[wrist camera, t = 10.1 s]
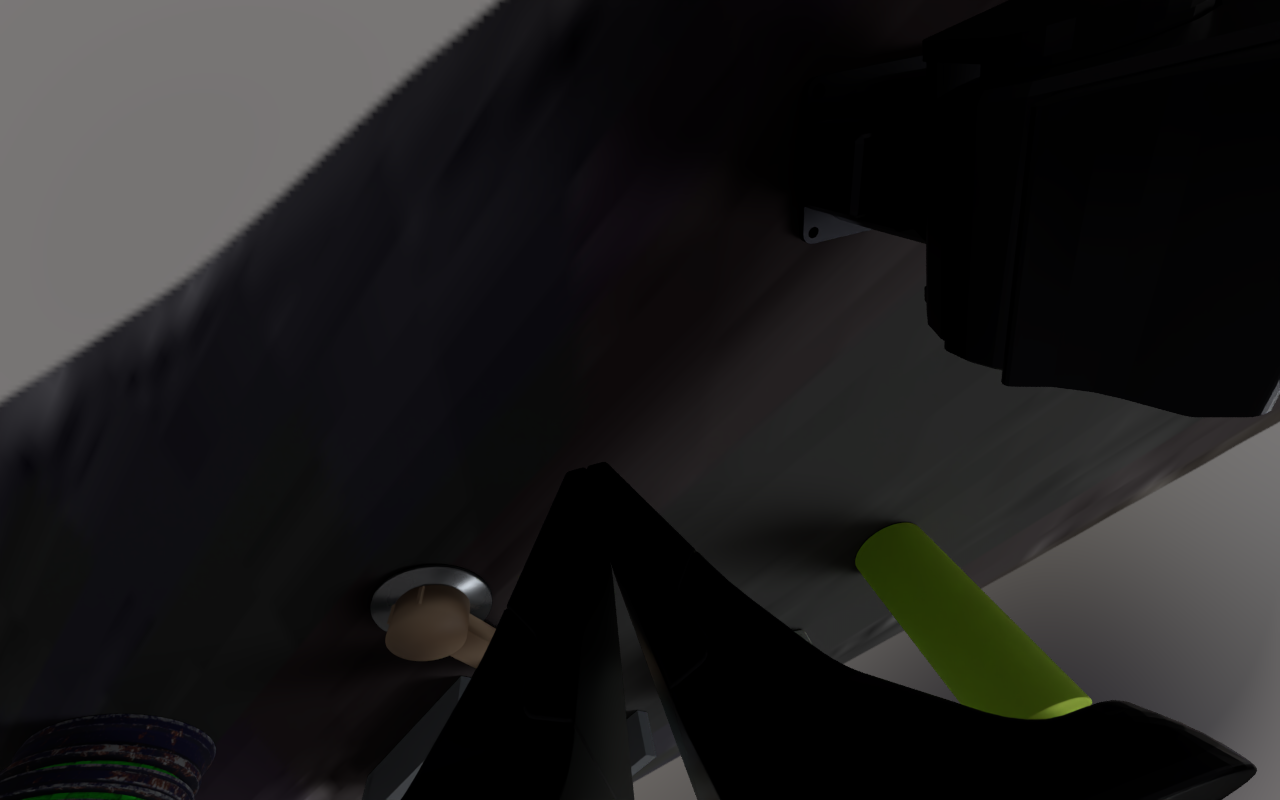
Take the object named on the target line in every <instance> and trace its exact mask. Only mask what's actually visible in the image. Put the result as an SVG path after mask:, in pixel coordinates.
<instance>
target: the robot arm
mask: <svg viewBox="0 0 1280 800" xmlns="http://www.w3.org/2000/svg"><path fill="white" fill-rule="evenodd" d="M816 85H818V86H819V90H820V91H819V95H818V96H817V98H815V97H814V94H813V91H814V88H815V86H816ZM797 202H798V203H799V204H800V216H799V236H800V238H801V240H802V241H804V242H807V243H809V244H810V243H817V242H821V241H825V240H830V239H834V238H838V237H842V236H846V235H851V234H855V233H859V232H863V231H867V230H872V229H873V230H877V231H881V232H884V233H888V234H892V235H895V236H899V237H903V238H906V239H910V240H914V241H917V242H921V243H925V244H926V286H925V301H926V303H927V319H928V325H929V326H930V327H931V328H932V329H933V330H934V331H935V333H936V334H937V335H938V336H939V337H940V338H941V339H943V340H944V341H945V349H946V350H947V351H948V352H950V353H952V354H954V355H957V356H959V357H961V358H963V359H965V360H967V361H970V362H972V363H976V364H979V365H983V366H987V367H990V368H994V369H999V370H1002V380H1001V382H1002V384H1004V385H1006V386H1015V387H1057V388H1065V389H1073V390H1081V391H1089V392H1095V393H1099V394H1104V395H1108V396H1113V397H1117V398H1121V399H1125V400H1129V401H1132V402H1136V403H1140V404H1143V405H1147V406H1151V407H1155V408H1158V409H1162V410H1166V411H1169V412H1173V413H1177V414H1180V415H1184V416H1189V417H1254V416H1260V415H1263V414H1266V413H1268V412H1269V411H1271V410H1272V408H1273V406H1274V404H1275V403H1276V401H1277V399H1278V397H1279V395H1280V0H1009V1H1006V2H1004V3H1002V4H1000V5H998V6H996V7H993V8H991V9H989V10H987V11H985V12H982V13H980V14H978V15H976V16H974V17H972V18H969V19H967V20H965V21H963V22H961V23H958V24H956V25H954V26H952V27H950V28H948V29H945V30H943V31H941V32H939V33H937V34H934V35H932V36H930V37H928V38H926V39H924V40H923V55H922V56H917V57H912V58H907V59H902V60H897V61H892V62H887V63H882V64H877V65H872V66H867V67H862V68H857V69H852V70H847V71H842V72H837V73H832V74H827V75H822V76H817V77H813V78H811V79H809V80H808V81H807V82H806V84H805V86H804V88H803V93H802V131H801V138H800V139H799V141H798V177H797ZM812 227H814V232H813V234H812V235H811V236H809V235H808V233H809V230H810V229H811V228H812ZM610 562H611V563H610ZM611 565H612V568H613V571H614V574H615V577H616V580H617V583H618V586H619V589H620V591H621V594H622V597H623V599H624V602H625V605H626V608H627V610H628V613H629V616H630V618H631V621H632V624H633V626H634V629H635V632H636V635H637V637H638V640H639V643H640V645H641V648H642V651H643V654H644V656H645V659H646V662H647V664H648V667H649V670H650V673H651V675H652V678H653V681H654V683H655V686H656V689H657V692H658V694H659V697H660V700H661V702H662V705H663V708H664V711H665V713H666V716H667V719H668V721H669V724H670V727H671V730H672V732H673V735H674V738H675V740H676V743H677V746H678V749H679V751H680V754H681V757H682V759H683V762H684V765H685V767H686V770H687V773H688V775H689V778H690V781H691V784H692V787H693V789H694V792H695V795H696V797H697V800H1222V799H1223V798H1225V797H1226V796H1228V795H1229V794H1231V793H1232V792H1234V791H1235V790H1237V789H1238V788H1239V787H1241V786H1242V785H1243V784H1245V783H1246V782H1248V781H1249V780H1250V779H1251V778H1252V777H1253V776H1254V775H1255V773H1256V771H1257V768H1256V767H1255V765H1254V764H1252V763H1251V762H1250V761H1249V760H1247V759H1246V758H1244V757H1243V756H1241V755H1240V754H1238V753H1237V752H1235V751H1233V750H1232V749H1230V748H1229V747H1227V746H1225V745H1224V744H1222V743H1220V742H1218V741H1216V740H1214V739H1213V738H1211V737H1209V736H1207V735H1206V734H1204V733H1202V732H1200V731H1198V730H1195V729H1193V728H1191V727H1189V726H1187V725H1185V724H1183V723H1181V722H1178V721H1176V720H1173V719H1170V718H1168V717H1165V716H1163V715H1161V714H1158V713H1156V712H1153V711H1150V710H1148V709H1145V708H1142V707H1140V706H1137V705H1135V704H1132V703H1130V702H1126V701H1116V700H1111V701H1105V702H1099V703H1096V704H1093V705H1090V706H1087V707H1084V708H1081V709H1078V710H1076V711H1073V712H1070V713H1068V714H1065V715H1062V716H1058V717H1053V718H1048V719H1019V718H1011V717H1004V716H1000V715H996V714H992V713H988V712H984V711H981V710H978V709H975V708H971V707H968V706H965V705H962V704H958V703H956V702H953V701H950V700H946V699H943V698H940V697H937V696H934V695H931V694H928V693H924V692H921V691H918V690H915V689H912V688H909V687H905V686H903V685H899V684H896V683H893V682H890V681H887V680H884V679H881V678H878V677H875V676H871V675H868V674H865V673H862V672H860V671H857V670H854V669H852V668H850V667H848V666H845V665H843V664H842V663H840V662H838V661H836V660H834V659H832V658H831V657H829V656H828V655H826V654H824V653H823V652H822V651H820V650H819V649H817V648H816V647H815V646H813V645H812V644H810V643H809V642H808V641H806V640H805V639H804V638H802V637H801V636H800V635H798V634H797V633H796V632H794V631H793V630H792V629H790V628H789V627H788V626H786V625H785V624H784V623H783V622H781V621H780V620H779V619H777V618H776V617H775V616H773V615H772V614H771V613H769V612H768V611H767V610H765V609H764V608H763V607H761V606H760V605H759V604H757V603H756V602H755V601H753V600H752V599H751V598H749V597H748V596H747V595H746V594H744V593H743V592H742V591H741V590H739V589H738V588H737V587H736V586H734V585H733V584H732V583H731V582H729V581H728V580H727V579H726V578H725V577H724V576H723V575H722V574H721V573H720V572H718V571H717V570H716V569H715V568H714V567H713V566H712V565H711V564H710V563H709V562H708V561H707V560H706V559H705V558H704V557H703V556H702V555H701V554H700V553H699V552H696V551H695V549H694V548H693V547H692V546H691V545H690V544H689V543H688V542H687V541H686V540H685V539H684V538H683V537H682V536H681V535H680V534H679V533H678V532H677V531H676V530H675V529H674V528H673V527H672V526H671V525H670V524H669V523H668V522H667V521H666V520H665V519H664V518H663V517H662V516H661V515H660V514H659V513H658V512H657V511H655V510H654V509H653V508H652V507H651V506H650V505H649V504H648V503H647V502H646V501H645V500H644V499H643V498H642V497H641V496H640V495H639V494H638V493H637V492H636V491H635V490H634V489H633V488H632V487H631V486H630V485H629V484H628V483H627V482H626V481H625V480H624V479H623V478H622V477H621V476H620V475H619V474H618V473H617V472H616V471H615V470H614V469H613V468H612V467H611V466H610V465H609V464H608V463H606V462H601V463H597V464H594V465H590V466H588V468H587V469H586V468H579V469H576V470H572V471H569V472H567V473H566V475H565V477H564V479H563V481H562V484H561V486H560V488H559V490H558V493H557V495H556V497H555V499H554V502H553V504H552V506H551V508H550V510H549V513H548V515H547V517H546V519H545V522H544V524H543V526H542V528H541V531H540V533H539V535H538V537H537V539H536V542H535V544H534V546H533V548H532V551H531V553H530V555H529V557H528V560H527V562H526V564H525V566H524V569H523V571H522V573H521V575H520V577H519V580H518V582H517V584H516V586H515V589H514V591H513V593H512V595H511V598H510V600H509V602H508V604H507V609H506V610H504V613H503V615H502V617H501V619H500V622H499V624H498V626H497V628H496V630H495V633H494V635H493V637H492V639H491V641H490V643H489V645H488V647H487V649H486V651H485V653H484V655H483V657H482V659H481V661H480V663H479V665H478V667H477V668H476V670H475V672H474V674H473V676H472V678H471V679H470V681H469V683H468V685H467V687H466V689H465V690H464V692H463V694H462V696H461V697H460V699H459V701H458V703H457V704H456V706H455V708H454V710H453V711H452V713H451V715H450V717H449V718H448V720H447V722H446V724H445V725H444V727H443V729H442V731H441V732H440V734H439V736H438V738H437V739H436V741H435V743H434V745H433V746H432V748H431V750H430V752H429V753H428V755H427V757H426V759H425V760H424V762H423V764H422V766H421V767H420V769H419V771H418V773H417V774H416V776H415V778H414V779H413V781H412V783H411V784H410V786H409V787H408V789H407V791H406V792H405V794H404V795H403V797H402V798H401V800H634V792H633V782H632V771H631V761H630V750H629V740H628V730H627V719H626V709H625V698H624V688H623V678H622V667H621V657H620V646H619V636H618V626H617V615H616V605H615V594H614V584H613V575H612V568H611Z"/></svg>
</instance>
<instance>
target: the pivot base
mask: <svg viewBox="0 0 1280 800" xmlns="http://www.w3.org/2000/svg"><path fill="white" fill-rule="evenodd" d="M426 585H445V586H450V587H453V588H456V589H458V590H460V591H461V592H463V593H464V594H465V595H466V596H467V597H468V599H469V601H470V614H472V615H473V616H475V617H477V618H478V619H480V620H482V621H484V620H485V619H486V617H487V616H488V614H489V612H490V610H491V606H492V593H491V590H490V588H489V586H488V584H487V583H486V582H485V581H484V580H483V579H482V578H481V577H480V576H478V575H477V574H475V573H473V572H471V571H469V570H467V569H464V568H461V567H456V566H451V565H440V564H434V565H422V566H417V567H412V568H409V569H406V570H403V571H400V572H398V573H396V574H394V575H392V576H391V577H389V578H388V579H386V580H385V581H384V582H383V583H382V584H380V586H379V587H378V588H377V589H376V591H375V593H374V595H373V598H372V601H371V606H370V610H371V615H372V618H373V619H374V621H375V623H376V624H377V625H378V626H379V627H380V628H381V629H383V630H384V631H386V632H387V631H388V627H389V625H388V624H387V622H388V618H389V615H390V611H391V608H392V605H394V604H395V603H396V601H397V600H398V599H399V597H401V596H402V595H403V594H404V593H406V592H407V591H409V590H412V589H414V588H417V587H421V586H426Z"/></svg>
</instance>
